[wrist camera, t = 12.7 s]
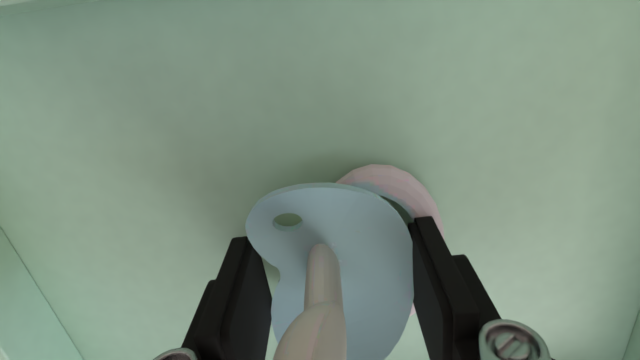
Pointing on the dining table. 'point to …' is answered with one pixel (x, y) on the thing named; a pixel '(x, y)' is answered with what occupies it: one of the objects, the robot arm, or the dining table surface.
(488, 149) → the tray
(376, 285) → the pacifier
